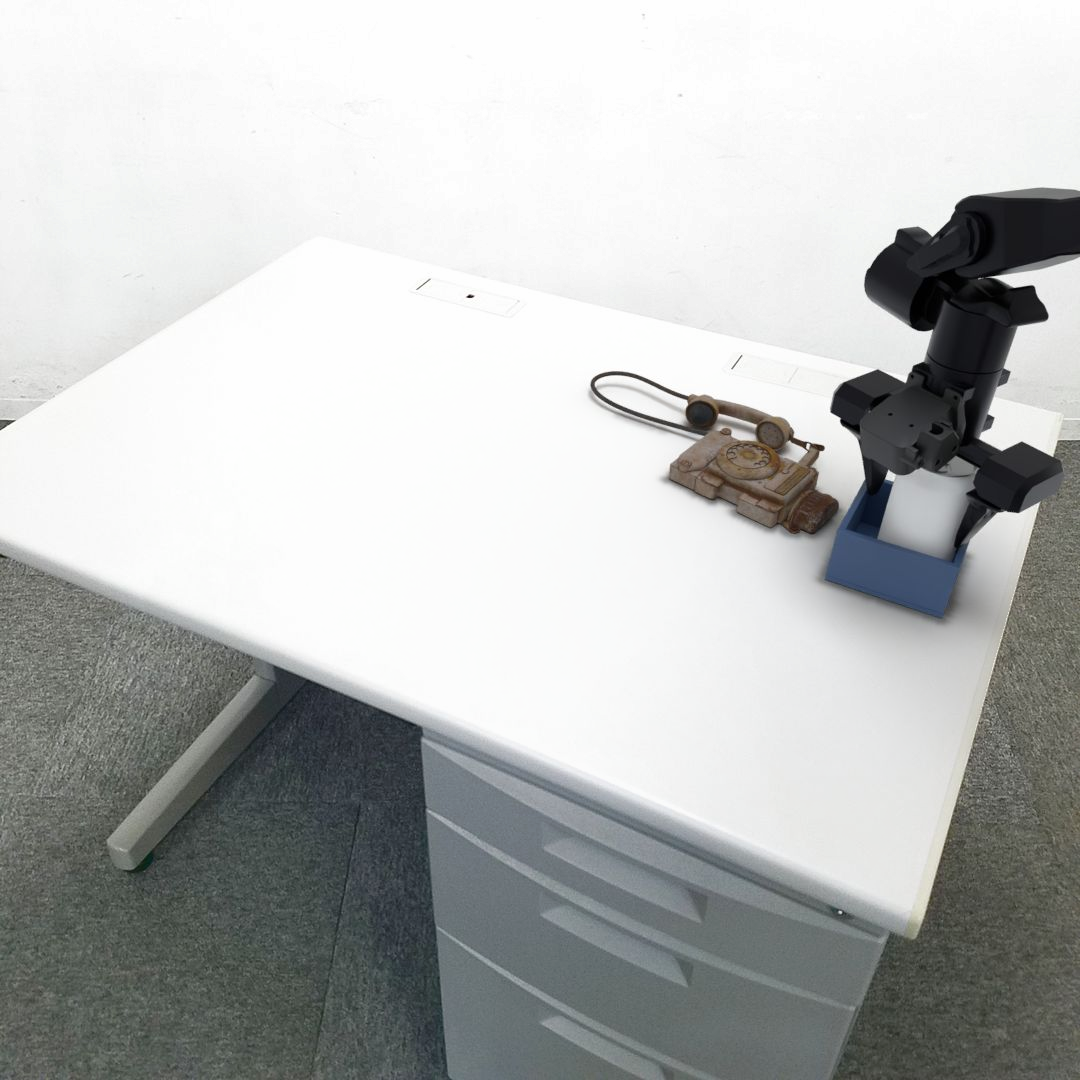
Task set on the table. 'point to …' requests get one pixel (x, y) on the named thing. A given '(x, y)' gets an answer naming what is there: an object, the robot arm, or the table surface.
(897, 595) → the bin
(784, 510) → the telephone
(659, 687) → the table surface
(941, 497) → the can
